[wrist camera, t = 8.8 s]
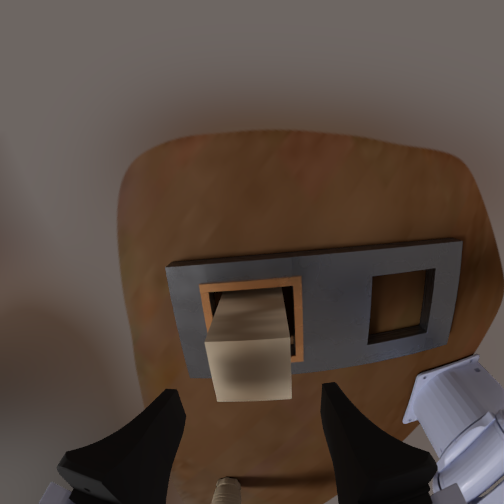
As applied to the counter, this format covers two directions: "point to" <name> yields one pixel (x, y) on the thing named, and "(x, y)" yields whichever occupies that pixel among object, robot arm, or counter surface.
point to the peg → (250, 346)
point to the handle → (227, 492)
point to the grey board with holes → (323, 300)
